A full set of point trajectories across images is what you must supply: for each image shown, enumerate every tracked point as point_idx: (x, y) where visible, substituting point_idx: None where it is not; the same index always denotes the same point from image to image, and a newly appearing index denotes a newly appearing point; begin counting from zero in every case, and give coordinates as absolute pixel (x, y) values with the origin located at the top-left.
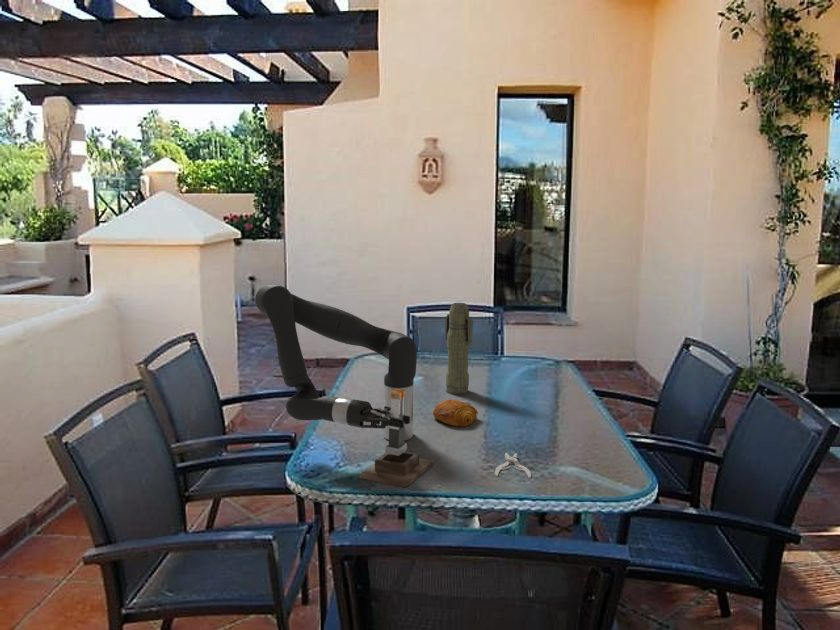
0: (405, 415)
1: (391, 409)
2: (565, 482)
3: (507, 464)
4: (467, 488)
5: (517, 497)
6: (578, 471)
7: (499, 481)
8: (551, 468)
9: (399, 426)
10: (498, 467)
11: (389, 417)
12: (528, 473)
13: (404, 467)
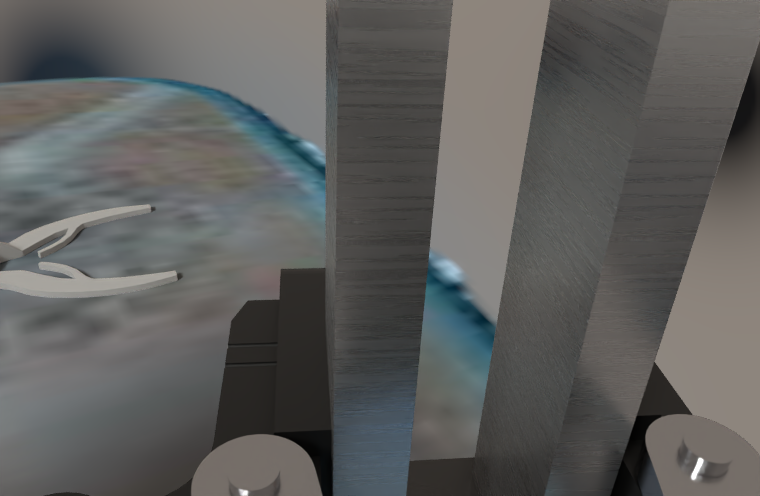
0: (291, 309)
1: (679, 252)
2: (155, 155)
3: (16, 272)
4: None
5: None
6: (40, 146)
7: (232, 262)
8: (24, 186)
9: None
10: (71, 287)
11: (689, 432)
12: (115, 212)
13: None
